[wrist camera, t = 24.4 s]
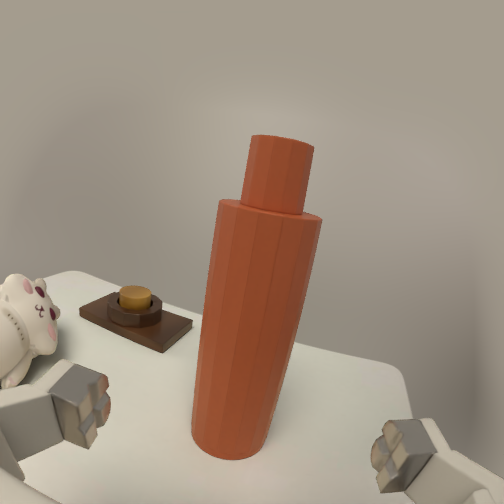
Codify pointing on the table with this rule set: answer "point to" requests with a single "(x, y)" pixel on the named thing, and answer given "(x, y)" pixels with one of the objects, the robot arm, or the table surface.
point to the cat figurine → (24, 326)
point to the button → (135, 297)
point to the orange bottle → (254, 298)
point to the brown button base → (138, 321)
